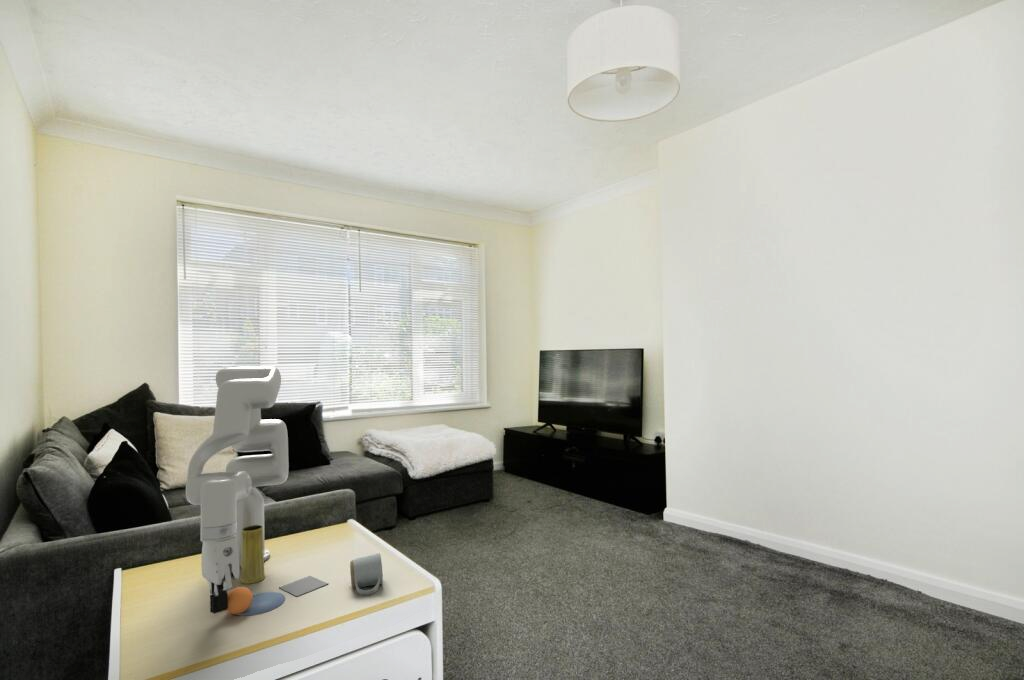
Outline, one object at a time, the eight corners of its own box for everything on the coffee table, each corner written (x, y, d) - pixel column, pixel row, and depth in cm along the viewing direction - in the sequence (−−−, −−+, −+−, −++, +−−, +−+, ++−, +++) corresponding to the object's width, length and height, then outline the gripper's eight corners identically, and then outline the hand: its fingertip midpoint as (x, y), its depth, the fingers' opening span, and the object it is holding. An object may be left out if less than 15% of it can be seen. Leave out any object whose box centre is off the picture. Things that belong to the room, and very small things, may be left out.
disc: (223, 606, 129) (223, 605, 129) (270, 588, 139) (270, 587, 139) (245, 620, 122) (245, 619, 122) (294, 600, 131) (294, 600, 131)
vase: (269, 576, 147) (269, 525, 147) (252, 585, 141) (251, 532, 141) (252, 574, 149) (252, 523, 149) (235, 582, 143) (234, 530, 143)
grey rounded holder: (349, 582, 142) (349, 553, 142) (380, 576, 145) (380, 549, 145) (352, 599, 132) (351, 568, 132) (385, 593, 135) (384, 563, 135)
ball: (217, 593, 125) (242, 577, 129) (224, 613, 126) (248, 596, 131) (227, 604, 121) (253, 587, 125) (235, 624, 123) (259, 607, 127)
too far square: (278, 588, 139) (278, 587, 139) (310, 576, 146) (310, 575, 146) (296, 596, 133) (296, 596, 133) (328, 584, 141) (328, 583, 141)
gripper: (249, 532, 122) (250, 613, 120) (221, 522, 131) (221, 597, 130) (215, 540, 116) (215, 626, 115) (188, 530, 125) (188, 608, 124)
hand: (218, 610), depth 122 cm, fingers closed
